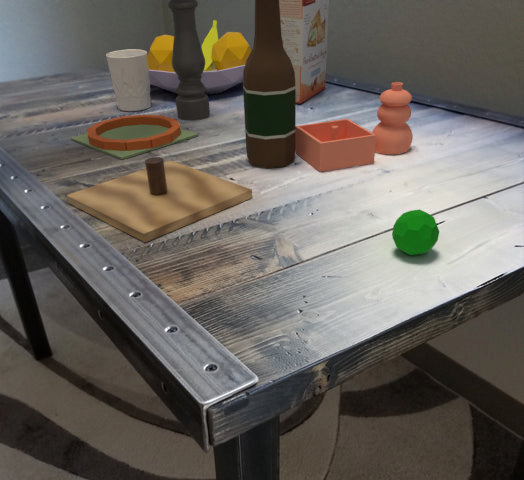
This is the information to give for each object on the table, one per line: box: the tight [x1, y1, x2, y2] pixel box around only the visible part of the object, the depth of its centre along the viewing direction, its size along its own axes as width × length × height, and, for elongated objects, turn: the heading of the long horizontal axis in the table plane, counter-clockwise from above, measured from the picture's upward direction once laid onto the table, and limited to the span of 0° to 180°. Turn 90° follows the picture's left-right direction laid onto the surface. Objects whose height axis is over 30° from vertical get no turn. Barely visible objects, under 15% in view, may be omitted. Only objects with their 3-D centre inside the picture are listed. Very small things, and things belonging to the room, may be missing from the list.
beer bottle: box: [242, 0, 297, 170], centre depth 84 cm, size 8×8×24 cm
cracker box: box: [279, 0, 330, 105], centre depth 116 cm, size 14×6×21 cm, turn 154°
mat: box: [70, 124, 199, 161], centre depth 102 cm, size 16×16×1 cm
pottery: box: [295, 81, 414, 173], centre depth 89 cm, size 18×10×10 cm, turn 110°
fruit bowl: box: [147, 19, 252, 95], centre depth 128 cm, size 28×27×11 cm
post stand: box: [65, 156, 253, 243], centre depth 78 cm, size 18×18×6 cm
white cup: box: [105, 48, 152, 112], centre depth 116 cm, size 8×8×10 cm
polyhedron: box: [391, 208, 440, 257], centre depth 64 cm, size 5×5×5 cm
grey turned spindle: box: [167, 0, 210, 121], centre depth 105 cm, size 6×6×25 cm
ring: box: [86, 114, 182, 151], centre depth 102 cm, size 16×16×1 cm
